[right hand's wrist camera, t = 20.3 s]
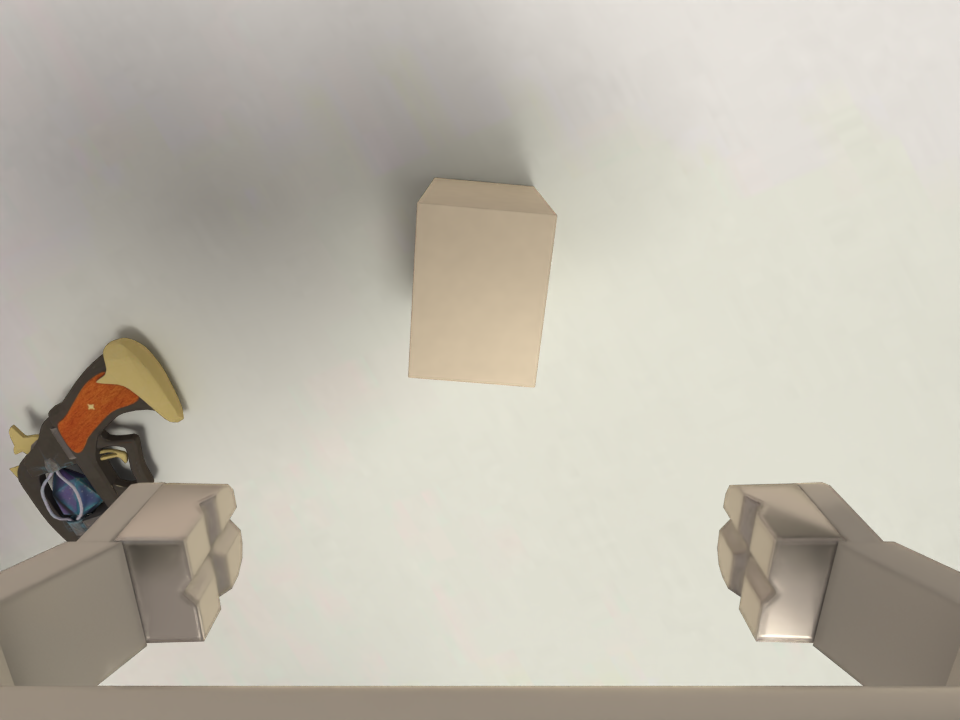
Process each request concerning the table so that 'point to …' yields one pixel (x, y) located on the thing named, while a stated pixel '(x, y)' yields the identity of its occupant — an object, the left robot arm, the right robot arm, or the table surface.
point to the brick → (480, 282)
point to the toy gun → (93, 438)
